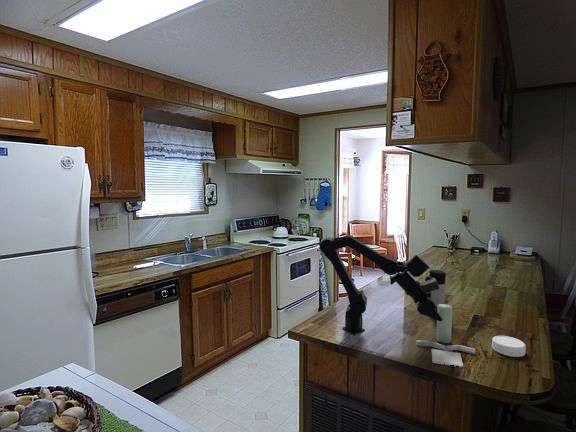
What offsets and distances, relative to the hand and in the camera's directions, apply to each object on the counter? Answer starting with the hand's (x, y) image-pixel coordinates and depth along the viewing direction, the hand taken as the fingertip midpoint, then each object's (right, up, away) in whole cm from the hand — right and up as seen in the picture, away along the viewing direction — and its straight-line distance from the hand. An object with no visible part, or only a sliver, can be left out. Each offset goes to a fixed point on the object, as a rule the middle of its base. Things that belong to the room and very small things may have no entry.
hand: (439, 316), depth 130 cm
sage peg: (+2, -9, 0) cm, 9 cm away
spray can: (+9, -7, +25) cm, 28 cm away
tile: (-4, -10, -14) cm, 18 cm away
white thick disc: (+21, -10, -7) cm, 24 cm away
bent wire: (-1, -10, -7) cm, 12 cm away
